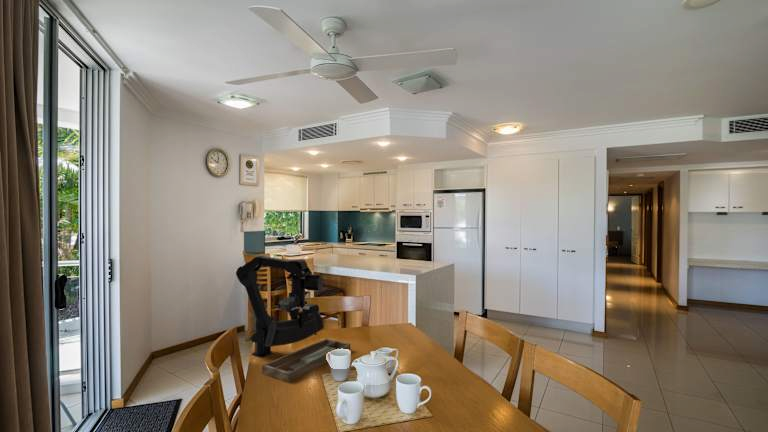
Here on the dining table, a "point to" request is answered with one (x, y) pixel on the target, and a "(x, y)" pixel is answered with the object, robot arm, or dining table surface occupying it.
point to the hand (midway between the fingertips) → (297, 326)
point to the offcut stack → (311, 358)
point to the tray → (282, 364)
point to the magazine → (293, 330)
